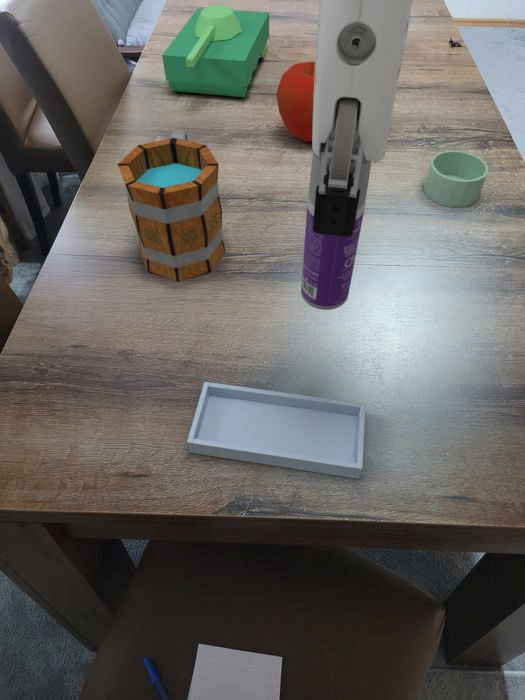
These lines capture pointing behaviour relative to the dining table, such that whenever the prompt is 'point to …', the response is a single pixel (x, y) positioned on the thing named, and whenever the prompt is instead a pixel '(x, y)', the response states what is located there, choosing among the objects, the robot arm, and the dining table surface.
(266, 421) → the tray
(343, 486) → the dining table surface
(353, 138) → the robot arm
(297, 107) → the apple
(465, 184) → the bowl
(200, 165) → the mug
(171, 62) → the toy tank
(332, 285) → the container
